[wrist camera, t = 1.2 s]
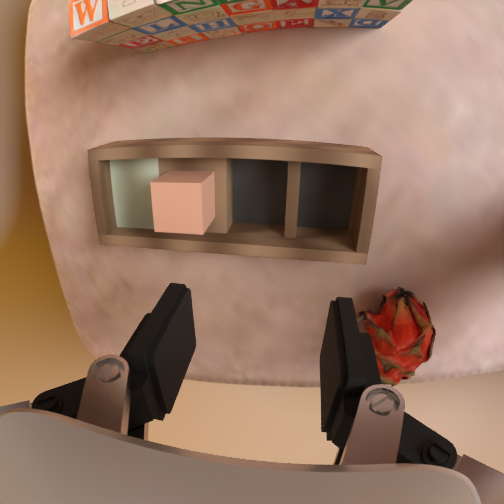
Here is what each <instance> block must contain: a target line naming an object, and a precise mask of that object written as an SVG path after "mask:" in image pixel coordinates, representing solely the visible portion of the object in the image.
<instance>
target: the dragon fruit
mask: <svg viewBox="0 0 504 504" xmlns="http://www.w3.org/2000/svg"><path fill="white" fill-rule="evenodd" d="M398 290H400V294H398V293H399V291H398ZM398 290H397V289H392V290H391V291H389V292H388V293H386V294H385V295H383V299H382V301H381V305H382V304H383V303H384V304H385V305H384V309H383V310H382V311H381V312H380V314H379V315H376V314H374V313H373V312H372V311H371V310H369V309H368V310H369V311H361V312H359V313H358V315H357V317H356V319H357V322H361V321H362V320H366V321H365V323H364V326H365V329H366V330H367V332H368V333H369V334H370V335H371V338H372V342H373V346H374V351H375V355H376V359H377V364H378V368H379V373H380V378H381V383H382V384H383V385H385V384H391V385H392V386H395V385H397V384H398V383H399V382H400V380H401V379H409V378H410V377H411V376H414V374H415V369H416V368H417V367H418V366H419V365H420V364H421V363H423V362H427V361H428V360H429V359H430V357H431V355H432V348H433V343H434V339H435V328H434V327H433V325H432V322H431V318H430V315H429V311H428V309H427V307H426V304H425V303H424V302H423V304H422V303H421V302H420V301H418V300H417V299H416V297H415V295H414V294H413V293H412V292H409V291H405V290H404V289H403V288H400V287H398ZM405 295H406V296H405ZM383 301H384V302H383ZM385 302H386V303H385ZM381 305H380V306H381ZM425 310H426V311H425ZM392 386H391V387H392Z"/></svg>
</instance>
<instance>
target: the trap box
mask: <svg viewBox="0 0 504 504" xmlns="http://www.w3.org/2000/svg"><path fill="white" fill-rule="evenodd" d="M88 160H89V170H90V179H91V187H92V195H93V203H94V210H95V216H96V223H97V229H98V235H99V240H100V244H104V245H116V246H129V247H142V248H154V249H167V250H180V251H193V252H206V253H219V254H232V255H245V256H258V257H272V258H285V259H299V260H312V261H326V262H339V263H353V264H366V260H367V255H368V249H369V244H370V238H371V233H372V227H373V220H374V214H375V207H376V201H377V194H378V186H379V178H380V170H381V161H382V156H380V155H379V154H377V153H376V152H374V151H373V150H371V149H370V148H368V147H360V146H352V145H342V144H332V143H321V142H309V141H295V140H278V139H255V138H167V139H144V140H128V141H115V142H112V143H108V144H105V145H102V146H99V147H96V148H93V149H90V150H88ZM168 171H214V175H215V218H214V219H213V221H212V222H211V224H210V225H209V227H208V228H207V230H206V231H205V233H204V234H203V235H199V234H183V233H167V232H155V230H154V220H153V210H152V198H151V185H150V182H152V181H153V180H155V179H157V178H158V177H160V176H162V175H163V174H165V173H167V172H168Z"/></svg>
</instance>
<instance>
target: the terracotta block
mask: <svg viewBox="0 0 504 504" xmlns="http://www.w3.org/2000/svg"><path fill="white" fill-rule="evenodd" d="M150 185H151V198H152V210H153V220H154V230H155V232H167V233H183V234H199V235H203V234H204V233H205V231H206V230H207V228H208V227H209V225H210V224H211V222H212V221H213V219H214V218H215V175H214V171H168V172H167V173H165V174H163V175H162V176H160V177H158V178H157V179H155V180H153V181H152V182H150Z"/></svg>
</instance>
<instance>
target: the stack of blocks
mask: <svg viewBox="0 0 504 504" xmlns="http://www.w3.org/2000/svg"><path fill="white" fill-rule="evenodd" d="M411 1H412V0H69V27H70V37H71V39H78V40H86V41H95V42H97V43H103V44H109V45H114V46H116V45H118V46H123V47H129V48H134V49H135V50H139V51H145V52H152V51H155V50H159V49H163V48H167V47H172V46H176V45H178V46H179V45H184V44H189V43H193V42H198V41H203V40H208V39H214V38H221V37H227V36H234V35H240V34H243V33H246V32H255V31H263V30H274V29H278V28H292V27H310V26H313V27H367V28H381V27H383V26H384V25H385V24H386V23H388V22H389V21H390V20H392V19H393V18H394V17H395V16H397V15H398V14H399V13H400V12H401V9H403V8H404V7H405V6H406V5H408V4H409V3H410V2H411Z"/></svg>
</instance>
